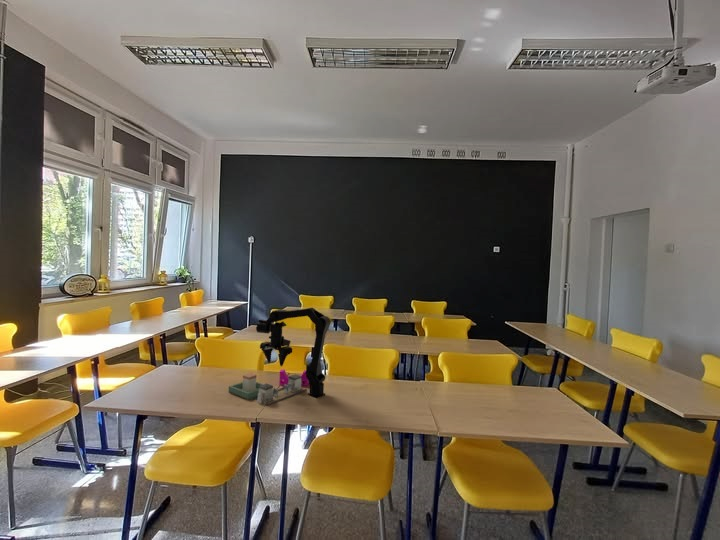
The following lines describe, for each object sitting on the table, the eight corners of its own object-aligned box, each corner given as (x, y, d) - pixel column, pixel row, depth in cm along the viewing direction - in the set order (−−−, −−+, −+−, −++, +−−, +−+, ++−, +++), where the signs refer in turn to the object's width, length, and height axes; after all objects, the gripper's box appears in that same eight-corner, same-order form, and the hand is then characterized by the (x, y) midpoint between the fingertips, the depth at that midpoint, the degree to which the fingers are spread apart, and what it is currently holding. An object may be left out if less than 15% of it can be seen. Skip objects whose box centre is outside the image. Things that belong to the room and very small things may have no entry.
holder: (306, 390, 186) (307, 376, 185) (266, 405, 164) (267, 390, 164) (292, 385, 192) (292, 372, 192) (251, 399, 170) (252, 385, 170)
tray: (269, 392, 180) (269, 386, 180) (247, 400, 170) (248, 393, 170) (250, 385, 189) (250, 379, 189) (228, 392, 178) (228, 386, 178)
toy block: (308, 382, 198) (309, 368, 198) (307, 386, 192) (308, 372, 192) (281, 381, 198) (281, 368, 197) (279, 385, 191) (279, 371, 191)
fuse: (255, 391, 180) (256, 375, 180) (248, 393, 176) (248, 377, 176) (250, 388, 182) (250, 373, 182) (242, 391, 179) (242, 375, 179)
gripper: (300, 334, 187) (299, 364, 187) (276, 329, 198) (274, 357, 198) (284, 338, 178) (283, 369, 178) (259, 332, 188) (258, 362, 189)
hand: (275, 364), depth 186 cm, fingers open, 9 cm apart
